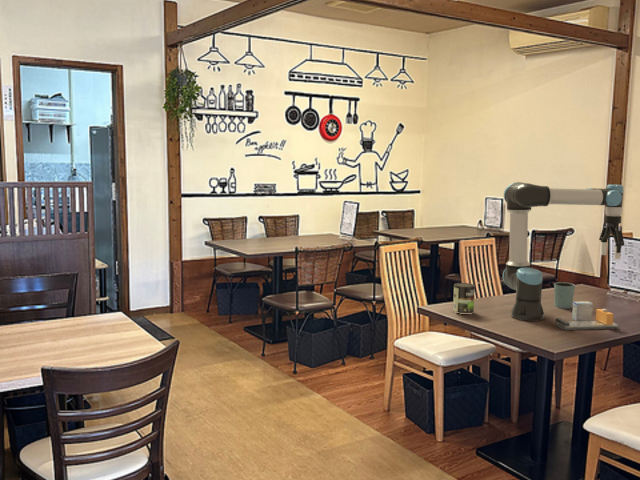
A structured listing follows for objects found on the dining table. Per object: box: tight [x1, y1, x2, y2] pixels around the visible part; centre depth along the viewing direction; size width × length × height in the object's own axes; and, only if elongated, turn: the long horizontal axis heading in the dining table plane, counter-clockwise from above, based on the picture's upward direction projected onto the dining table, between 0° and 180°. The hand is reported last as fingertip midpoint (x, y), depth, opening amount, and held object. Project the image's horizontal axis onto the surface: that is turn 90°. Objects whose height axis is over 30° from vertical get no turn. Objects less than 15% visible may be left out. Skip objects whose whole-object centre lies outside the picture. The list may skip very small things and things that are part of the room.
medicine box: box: [571, 301, 594, 321], centre depth 295 cm, size 8×4×9 cm, turn 92°
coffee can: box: [452, 282, 476, 314], centre depth 308 cm, size 10×10×14 cm
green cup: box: [553, 281, 576, 310], centre depth 320 cm, size 10×10×12 cm
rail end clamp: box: [595, 308, 614, 325], centre depth 283 cm, size 3×9×6 cm, turn 6°
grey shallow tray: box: [555, 317, 620, 331], centre depth 283 cm, size 26×9×3 cm, turn 96°
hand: (610, 257), depth 313 cm, fingers open, 13 cm apart
